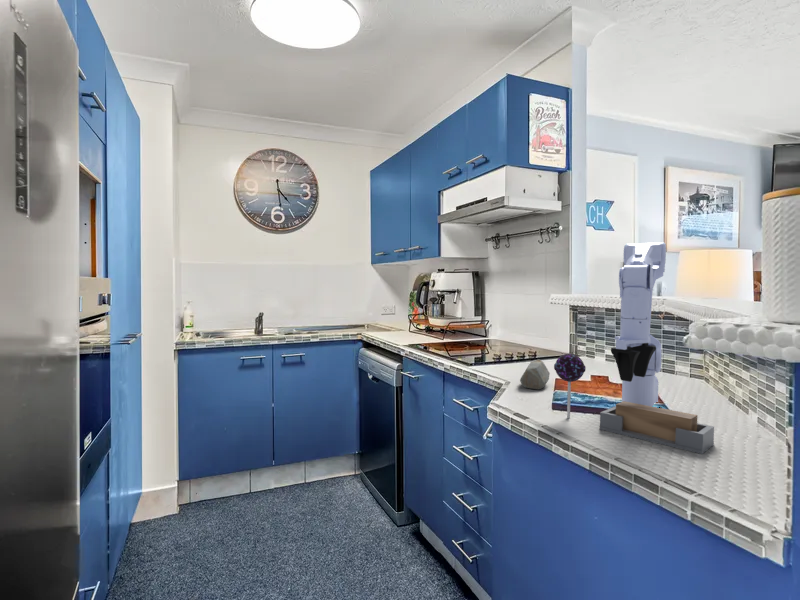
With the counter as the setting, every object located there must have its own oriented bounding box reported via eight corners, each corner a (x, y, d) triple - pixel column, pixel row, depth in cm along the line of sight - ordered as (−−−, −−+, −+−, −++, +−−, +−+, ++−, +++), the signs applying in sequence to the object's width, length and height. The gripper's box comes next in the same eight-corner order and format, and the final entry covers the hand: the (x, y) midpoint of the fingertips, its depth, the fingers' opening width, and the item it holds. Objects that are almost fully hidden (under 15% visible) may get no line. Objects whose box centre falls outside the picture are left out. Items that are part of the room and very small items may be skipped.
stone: (545, 391, 133) (545, 365, 133) (517, 388, 136) (517, 362, 136) (551, 383, 144) (552, 359, 144) (525, 381, 147) (525, 357, 147)
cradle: (614, 422, 103) (614, 406, 103) (713, 444, 89) (714, 426, 89) (599, 429, 98) (599, 412, 98) (702, 453, 84) (702, 434, 84)
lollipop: (547, 417, 106) (548, 353, 106) (561, 412, 111) (562, 350, 111) (576, 424, 102) (577, 357, 101) (589, 418, 106) (590, 353, 106)
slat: (622, 423, 100) (623, 401, 100) (696, 440, 90) (697, 415, 90) (615, 427, 97) (615, 404, 97) (690, 444, 87) (691, 418, 87)
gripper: (629, 316, 111) (627, 371, 111) (602, 318, 101) (601, 379, 101) (661, 317, 105) (659, 376, 106) (636, 320, 96) (634, 385, 96)
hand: (633, 378), depth 103 cm, fingers open, 7 cm apart
